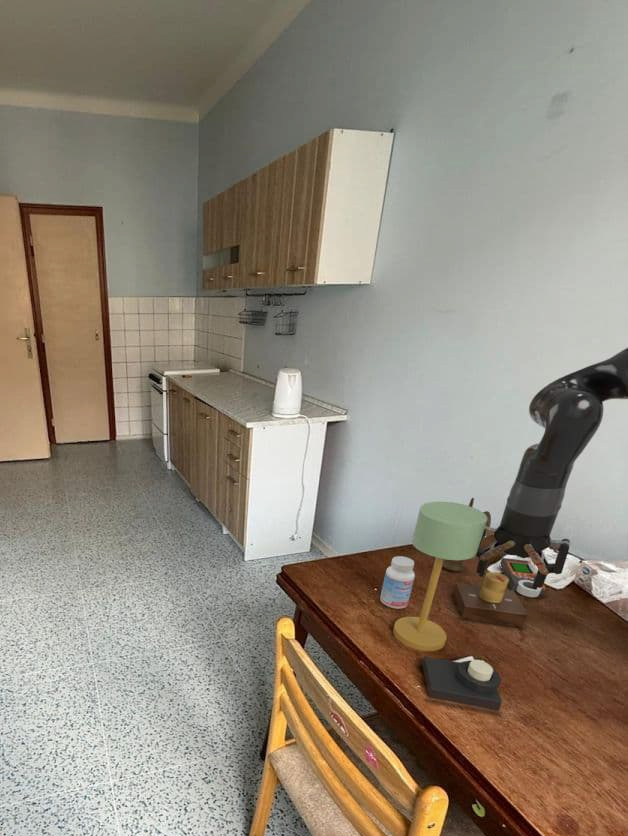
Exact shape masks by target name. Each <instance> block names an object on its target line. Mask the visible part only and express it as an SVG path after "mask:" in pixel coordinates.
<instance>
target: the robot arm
mask: <svg viewBox="0 0 628 836" xmlns="http://www.w3.org/2000/svg"><path fill="white" fill-rule="evenodd" d="M609 400H628V347H625V348H624V349H623V350H621V351H619V352H617V353H616V354H614V355H612V356H611V357H609V358H607V359H605V360H602V361H600V362H596V363H594V364H591V365H588V366H586V367H584V368H583V367H582V368H580V369H578V370H576V371H573V372H571V373H568V374H566V375H563V376H561V377H559V378H557V379H555V380H553V381H552V382H550V383H548V384H547V385H545V386H544V387H542V388H541V389H539V391H538V392H537V393H535V395H534V396H533V398H531V401H530V403H529V406H528V414H529V417H530V419H531V420H532V421H533V422H534V423H535V424H537V425H538V426H540V427H541V428H543V429H544V433H543V435H542V437H541V439H540V441H539V442H538V443H534V444H532V445H530V446H528V447H527V448H526V449H525V450H524V452H523V455H522V457H521V460H520V462H519V463H520V464H519V467H518V470H517V473H516V476H515V479H514V482H513V484H512V485H511V488H510V490H509V494H508V496H507V498H506V504H505V507H504V509H503V513H502V517H501V520H500V523H499V526H498V527H497V528H495V527H491V526H490V527H487V525H485V528H484V532H483V535H482V538H481V541H480V544H479V547H478V550H477V554H476V555H475V556H474V557H477V558H478V564H477V566H476V567H477V568H476V570H475V571H476V573H477V574H479V575H478V577H481V578H484V577H485V574H486V570H487V566H488V564H489V560H490V559H491V558H492V557H496V556H499V554H502V553H505V555H507V556H516V557H519V558H521V559H524V560H526V559H527V558H529V559H530V560H531V562H532V564H534V565H535V567H536V569H537V574H536V577H535V579H534V582H533V586H532V589H534V590H537V587H538V588H541V587H542V586H543V584H544V585H545V582H546V579H547V577H548V575H550V574H554V575H561V574H563V570H564V567H565V563H566V560H567V557H568V554H569V550H570V544H571V541H570V539H569V538H563V539H561V540H557V539H551V534H552V531H553V529H554V525H555V523H556V520H557V517H558V514H559V512H560V510H561V509H562V506H563V505H562V504H563V501H564V498H565V494H566V489H567V484H568V482H569V479H570V476H571V473H572V471H573V469H574V465H575V463H576V461H577V459H578V458H579V457H580V455H581V454H582V453H583V452H584V451H585V449H586V447H587V446H588V445H589V443H590V442H591V440H592V438H593V437H594V436H595V434H596V433H597V431H598V430H599V428H600V426H601V424H602V420H603V417H604V409H605V408H604V404H603V403H604V402H606V401H609ZM490 536H493V537H494V539H495V542H493V543H492V544H491V545H489V546H488V547H486V548H482V547H481V546H482V542H483V540H484V539H488V538H489V537H490ZM550 547H551V548H552V551H553V553H555V554H556V558H555V560H554V561H555V562H554V563H549V562H548V559H547V558H546V556H545V553H544V551H545V550H546V549H548V548H550Z"/></svg>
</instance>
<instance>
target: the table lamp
mask: <svg viewBox="0 0 628 836" xmlns="http://www.w3.org/2000/svg"><path fill="white" fill-rule="evenodd" d="M418 510H419V511H418V515H417V519H416V523H415V527H414V531H413V534H412V535H413V536H412V538H411V539H412V540H411V543H412V546H413V547H414V548H416V550H418V551H420V552H421V553H423V554H425V555H428V556H431V557H433V558H435V560H434V564H433V568H432V572H431V574H430V579H429V583H428V586H427V589H426V593H425V597H424V601H423V604H422V608H421V611H420V615H419V616H402V617H400V618H398V619H397V620H395V622H394V625H393V629H392V633H393V635H394V637H395V638H396V639H397V641H399V642H400V643H401V644H403V645H405V646H406V647H409V648H411V649H414V650H416V651H422V652H436V651H439V650H441V649H442V648H444V646H445V645H446V642H447V639H448V637H447V633H446V631H445V630H444V629H443V628H442V627H441V626H440V625H439V624H437V623H436V622H434V621H431V620H429V619H428V618H429V614H430V612H431V607H432V604H433V601H434V597H435V594H436V590H437V586H438V583H439V580H440V576H441V573H442V568H443V566H442V565H443V562H444V561H445V560H463V561H466V560H470V559H473V558H475V557H476V556H475V555H476V554H477V550H478V547H479V544H480V541H481V538H482V535H483V532H484V528H485V525H486V522H487V516H486V515H485V514H484V513H483V512H484V511H482V510H480V509H478V508H475V507H474V506H472V507H470V506H469V505H467V504H463V503H458V502H452V501H430V502H426V503H423V504H421V506H419V509H418Z"/></svg>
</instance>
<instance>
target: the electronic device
mask: <svg viewBox="0 0 628 836" xmlns="http://www.w3.org/2000/svg"><path fill="white" fill-rule="evenodd" d="M500 564H501V567H502V569H501V571H502V574H503V575H505V576H507V577H508V578H509V582H508V584H507V585H508V586H509V588H510V590H514V592H517V593H518V594H519V595H522V596H524V597H527V598H537V597H539V595H541V596H544V594H545V593H546V590H547V587H546V586H545V583H544V584H543V586H542V587H541V588H538V587H537V590H534V589H532V586H533V582H534V579H535V577H536V574H537V571H538V568H537V566H536V565H534V563H533V562H532V561H530V560H526V559H517V558H509V557H501V559H500V562H499V565H500ZM501 567H500V568H501Z"/></svg>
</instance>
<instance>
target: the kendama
mask: <svg viewBox="0 0 628 836" xmlns="http://www.w3.org/2000/svg"><path fill="white" fill-rule="evenodd" d="M474 501H475V498H474V497H471V499H470V501H469V503H468V506H470V507H474ZM482 512H483V513H484V514H485V515H486V516H487V522H486V525H487V527H491V524H492V515H491V513H490V511H489V510H486V511H482ZM463 561H464V560H447V559H444V562H443V565H442V568H443V569H445V570H446V571H449V572H455V573H460V572H462V571H464V570H465V567H464V564H463Z"/></svg>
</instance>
